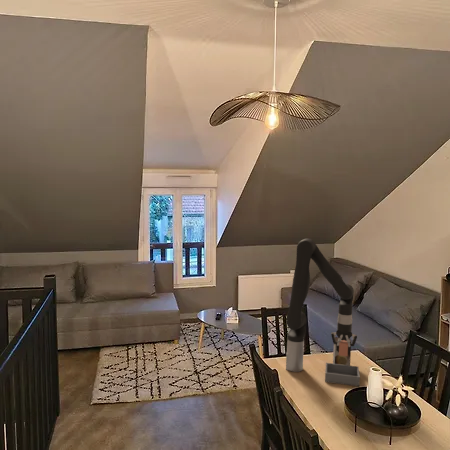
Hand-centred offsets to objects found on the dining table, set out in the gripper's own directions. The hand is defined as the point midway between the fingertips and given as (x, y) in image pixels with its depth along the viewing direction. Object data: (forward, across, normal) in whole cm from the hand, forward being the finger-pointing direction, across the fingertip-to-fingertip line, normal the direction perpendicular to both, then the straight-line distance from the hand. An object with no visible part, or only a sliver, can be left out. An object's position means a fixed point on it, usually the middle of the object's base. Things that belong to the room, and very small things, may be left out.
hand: (343, 352), depth 236 cm
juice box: (+1, 0, 0) cm, 1 cm away
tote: (+15, 0, 0) cm, 15 cm away
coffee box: (+15, 0, +17) cm, 23 cm away
